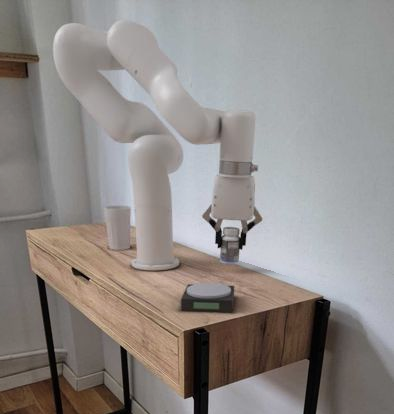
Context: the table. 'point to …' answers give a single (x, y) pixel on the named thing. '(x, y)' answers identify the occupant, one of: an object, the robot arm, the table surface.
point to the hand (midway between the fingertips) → (230, 247)
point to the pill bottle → (230, 245)
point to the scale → (208, 297)
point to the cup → (118, 226)
